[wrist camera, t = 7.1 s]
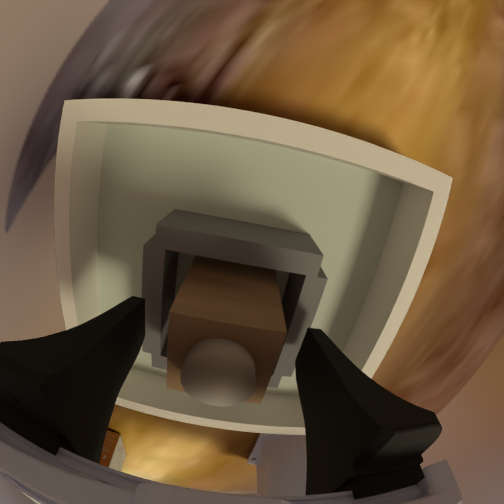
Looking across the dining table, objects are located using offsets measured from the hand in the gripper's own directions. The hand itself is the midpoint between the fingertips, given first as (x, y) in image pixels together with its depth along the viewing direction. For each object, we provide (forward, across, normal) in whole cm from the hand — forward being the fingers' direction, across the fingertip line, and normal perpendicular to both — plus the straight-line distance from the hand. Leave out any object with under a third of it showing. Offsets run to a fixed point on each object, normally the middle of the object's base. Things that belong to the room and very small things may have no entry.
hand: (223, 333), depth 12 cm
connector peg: (+4, 0, 0) cm, 4 cm away
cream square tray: (+5, 0, 0) cm, 5 cm away
